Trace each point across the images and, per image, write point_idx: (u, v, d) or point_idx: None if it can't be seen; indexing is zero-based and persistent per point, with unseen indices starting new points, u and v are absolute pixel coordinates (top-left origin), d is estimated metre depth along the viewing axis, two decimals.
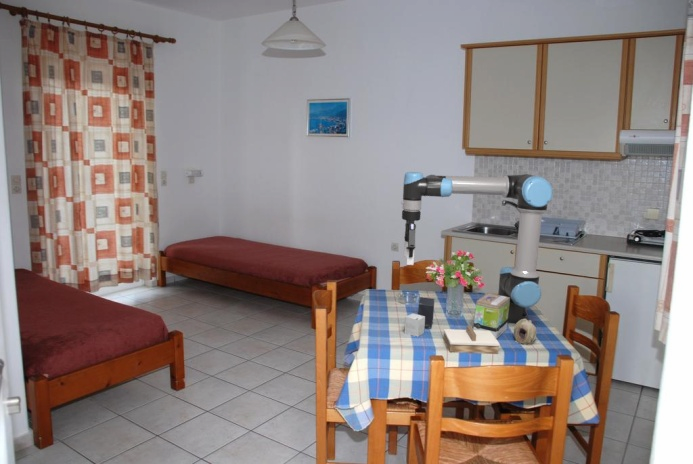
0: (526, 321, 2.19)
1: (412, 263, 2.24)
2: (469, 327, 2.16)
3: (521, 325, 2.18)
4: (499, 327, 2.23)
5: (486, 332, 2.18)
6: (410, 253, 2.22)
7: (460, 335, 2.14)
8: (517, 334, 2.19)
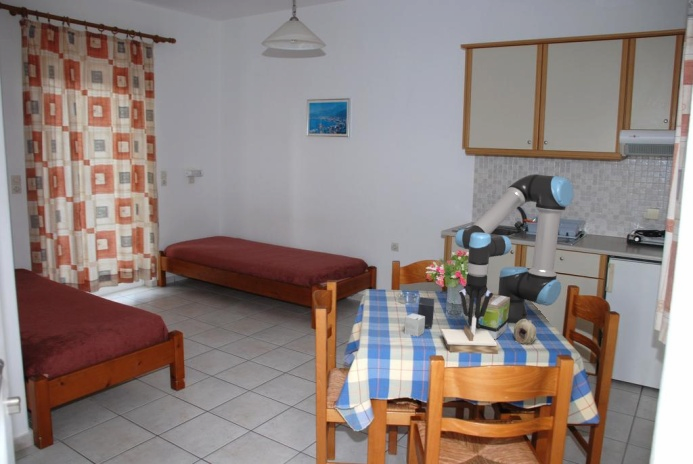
0: (526, 321, 2.19)
1: None
2: (466, 327, 2.16)
3: (521, 325, 2.18)
4: (499, 327, 2.23)
5: (483, 332, 2.18)
6: (468, 320, 2.13)
7: (457, 335, 2.14)
8: (517, 334, 2.19)
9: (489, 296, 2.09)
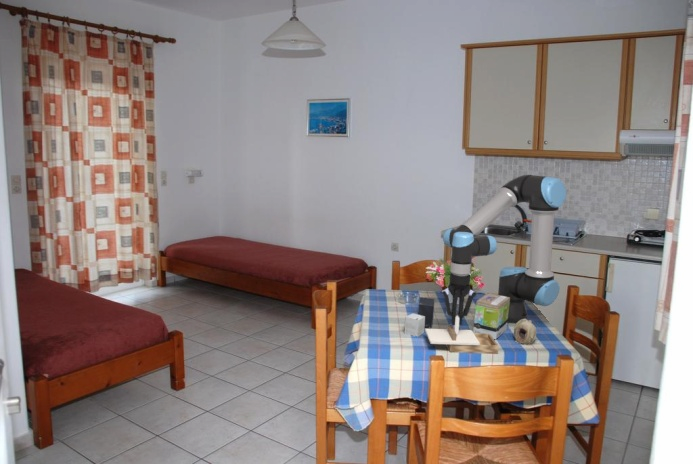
0: (526, 321, 2.19)
1: None
2: (450, 326, 2.16)
3: (521, 325, 2.18)
4: (499, 327, 2.23)
5: (467, 331, 2.18)
6: (451, 320, 2.12)
7: (441, 334, 2.14)
8: (517, 334, 2.19)
9: (472, 295, 2.09)
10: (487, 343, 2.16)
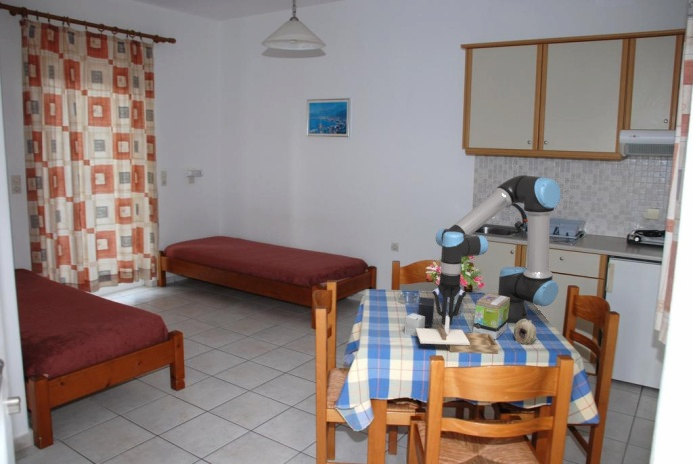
0: (526, 321, 2.19)
1: None
2: (440, 326, 2.16)
3: (521, 325, 2.18)
4: (499, 327, 2.23)
5: (458, 331, 2.18)
6: None
7: (431, 334, 2.14)
8: (517, 334, 2.19)
9: (462, 295, 2.09)
10: (487, 343, 2.16)
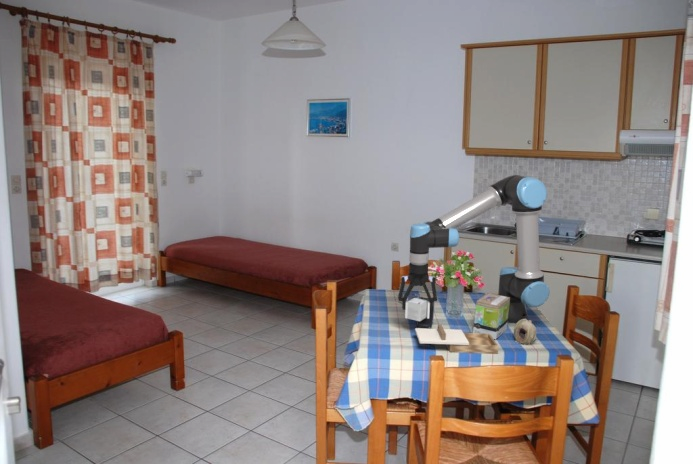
0: (526, 321, 2.19)
1: (405, 316, 2.24)
2: (440, 326, 2.16)
3: (521, 325, 2.18)
4: (499, 327, 2.23)
5: (457, 331, 2.18)
6: (402, 305, 2.24)
7: (431, 334, 2.14)
8: (517, 334, 2.19)
9: (433, 281, 2.21)
10: (487, 343, 2.16)
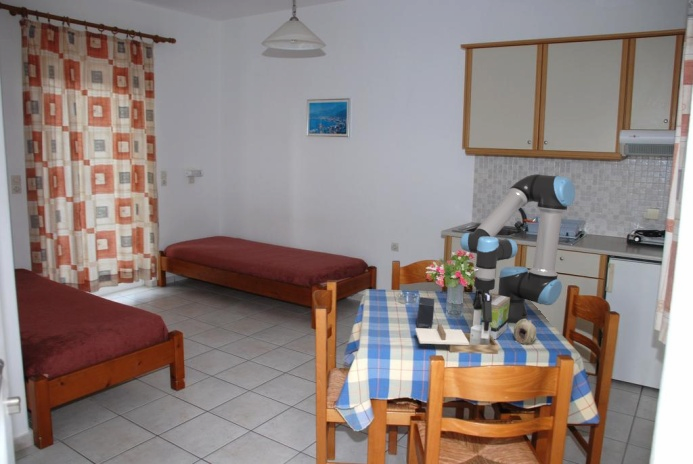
0: (526, 321, 2.19)
1: (487, 337, 2.06)
2: (440, 326, 2.16)
3: (521, 325, 2.18)
4: (499, 327, 2.23)
5: (457, 331, 2.18)
6: (486, 326, 2.04)
7: (431, 334, 2.14)
8: (517, 334, 2.19)
9: None
10: None
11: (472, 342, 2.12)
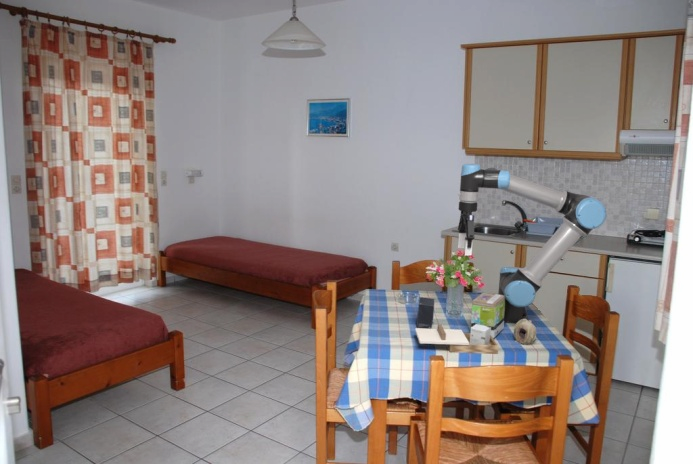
0: (526, 321, 2.19)
1: (470, 254, 2.27)
2: (440, 326, 2.16)
3: (521, 325, 2.18)
4: (496, 325, 2.23)
5: (457, 331, 2.18)
6: (469, 244, 2.25)
7: (431, 334, 2.14)
8: (517, 334, 2.19)
9: None
10: None
11: (472, 342, 2.12)
